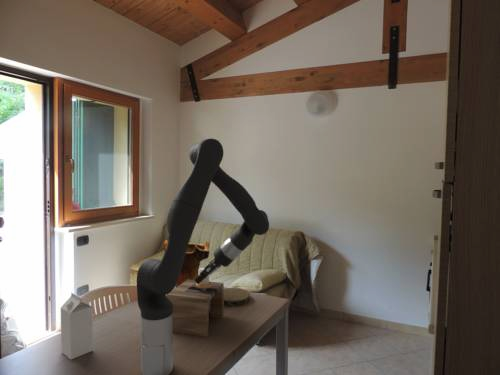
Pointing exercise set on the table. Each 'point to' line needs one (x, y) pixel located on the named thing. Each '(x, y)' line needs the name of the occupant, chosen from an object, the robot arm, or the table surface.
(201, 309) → the wooden slotted block
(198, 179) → the robot arm
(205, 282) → the cylinder with orange collar
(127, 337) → the table surface
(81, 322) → the milk carton
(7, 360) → the table surface
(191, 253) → the decorative vase
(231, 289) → the wood slice
